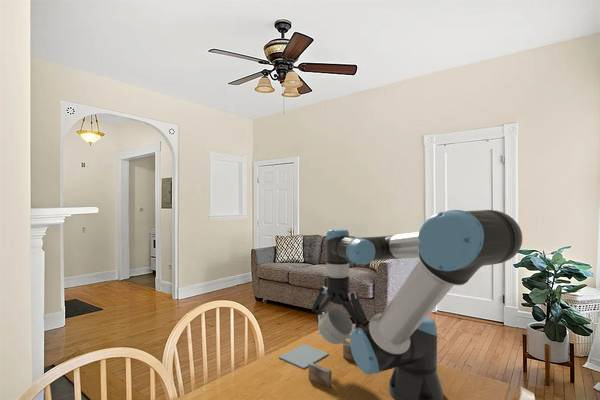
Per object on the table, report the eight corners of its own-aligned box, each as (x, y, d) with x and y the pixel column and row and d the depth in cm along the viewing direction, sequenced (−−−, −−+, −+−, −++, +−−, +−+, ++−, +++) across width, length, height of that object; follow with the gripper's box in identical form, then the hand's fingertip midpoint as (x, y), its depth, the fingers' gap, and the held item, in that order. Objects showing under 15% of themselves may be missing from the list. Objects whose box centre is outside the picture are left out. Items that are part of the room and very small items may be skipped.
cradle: (364, 362, 118) (364, 349, 118) (328, 387, 102) (328, 372, 102) (345, 355, 123) (345, 343, 123) (308, 378, 108) (308, 364, 108)
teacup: (308, 324, 112) (323, 311, 109) (326, 314, 121) (340, 302, 118) (334, 362, 107) (350, 349, 103) (350, 349, 115) (365, 337, 112)
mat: (328, 354, 124) (328, 353, 124) (303, 369, 114) (303, 367, 114) (304, 345, 132) (304, 344, 132) (278, 358, 122) (278, 356, 122)
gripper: (377, 279, 107) (378, 345, 107) (315, 269, 124) (315, 326, 124) (365, 283, 102) (365, 353, 101) (302, 272, 118) (302, 332, 118)
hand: (338, 339), depth 113 cm, fingers closed on teacup, 13 cm apart
